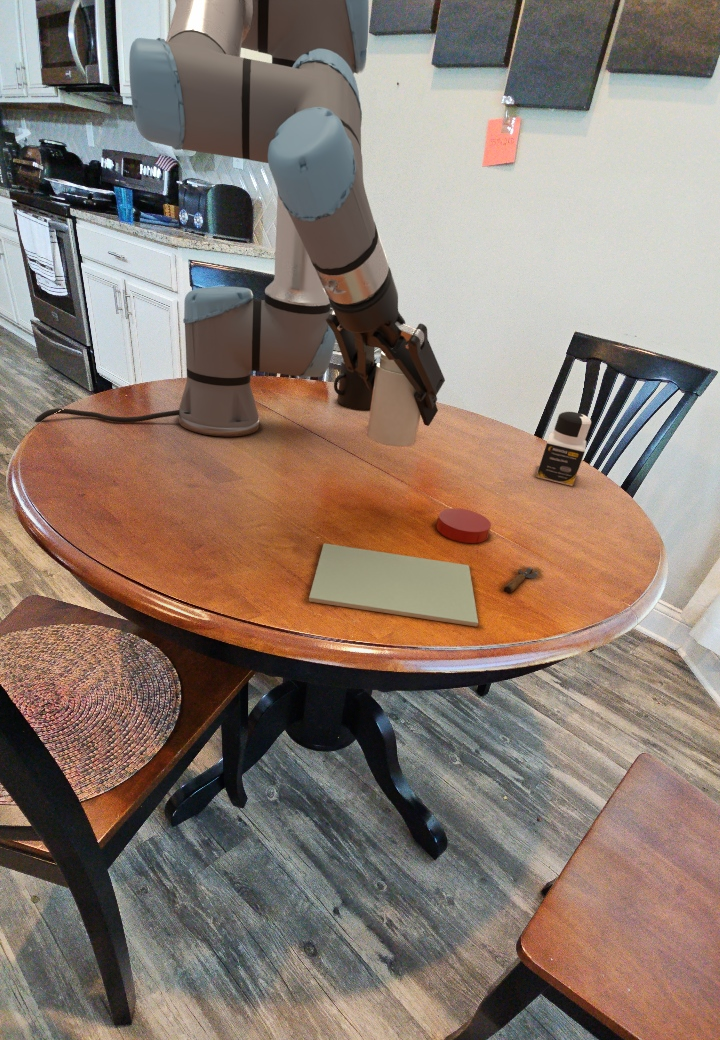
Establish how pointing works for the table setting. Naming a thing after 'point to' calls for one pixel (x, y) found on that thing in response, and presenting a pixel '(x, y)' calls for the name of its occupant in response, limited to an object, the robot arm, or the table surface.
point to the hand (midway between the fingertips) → (408, 410)
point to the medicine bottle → (565, 449)
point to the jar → (392, 407)
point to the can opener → (519, 579)
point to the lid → (463, 525)
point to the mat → (394, 585)
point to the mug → (352, 389)
